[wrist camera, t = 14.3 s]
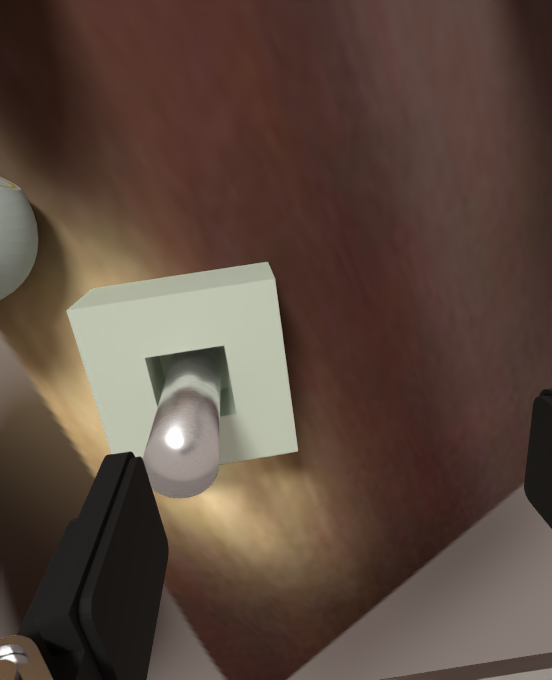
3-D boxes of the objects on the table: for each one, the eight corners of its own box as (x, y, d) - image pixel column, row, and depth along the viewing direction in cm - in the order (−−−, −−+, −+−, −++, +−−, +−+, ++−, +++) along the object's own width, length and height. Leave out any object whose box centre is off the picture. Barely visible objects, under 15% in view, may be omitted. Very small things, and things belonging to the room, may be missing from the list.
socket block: (267, 261, 36) (274, 278, 31) (288, 413, 41) (298, 451, 36) (91, 288, 36) (66, 310, 30) (135, 438, 41) (120, 481, 35)
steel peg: (216, 335, 36) (210, 429, 23) (225, 380, 38) (224, 491, 25) (167, 343, 36) (133, 442, 23) (177, 387, 38) (151, 503, 25)
